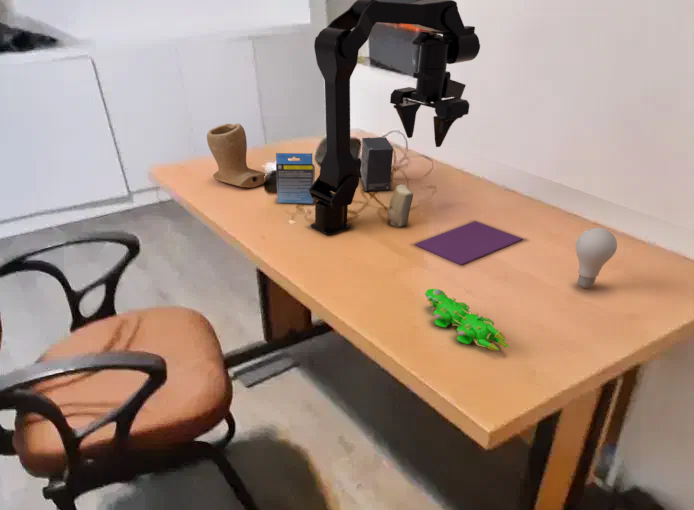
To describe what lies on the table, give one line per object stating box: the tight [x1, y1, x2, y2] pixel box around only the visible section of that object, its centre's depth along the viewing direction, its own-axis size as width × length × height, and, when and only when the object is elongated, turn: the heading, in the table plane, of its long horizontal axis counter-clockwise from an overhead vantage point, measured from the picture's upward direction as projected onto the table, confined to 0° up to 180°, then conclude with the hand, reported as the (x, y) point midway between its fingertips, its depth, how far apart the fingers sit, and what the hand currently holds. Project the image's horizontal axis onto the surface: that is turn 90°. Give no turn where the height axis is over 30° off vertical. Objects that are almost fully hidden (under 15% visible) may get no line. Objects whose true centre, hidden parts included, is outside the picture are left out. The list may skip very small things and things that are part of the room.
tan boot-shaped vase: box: [206, 123, 267, 188], centre depth 162 cm, size 15×12×15 cm
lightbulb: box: [574, 227, 618, 289], centre depth 107 cm, size 6×6×11 cm
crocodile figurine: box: [424, 288, 509, 352], centre depth 100 cm, size 7×18×4 cm, turn 24°
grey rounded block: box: [387, 183, 414, 228], centre depth 136 cm, size 6×5×8 cm
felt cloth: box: [414, 220, 524, 266], centre depth 128 cm, size 18×12×1 cm, turn 122°
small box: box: [359, 137, 394, 192], centre depth 156 cm, size 11×6×10 cm, turn 179°
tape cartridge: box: [275, 152, 316, 205], centre depth 150 cm, size 9×4×12 cm, turn 76°
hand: (423, 142), depth 140 cm, fingers open, 9 cm apart
